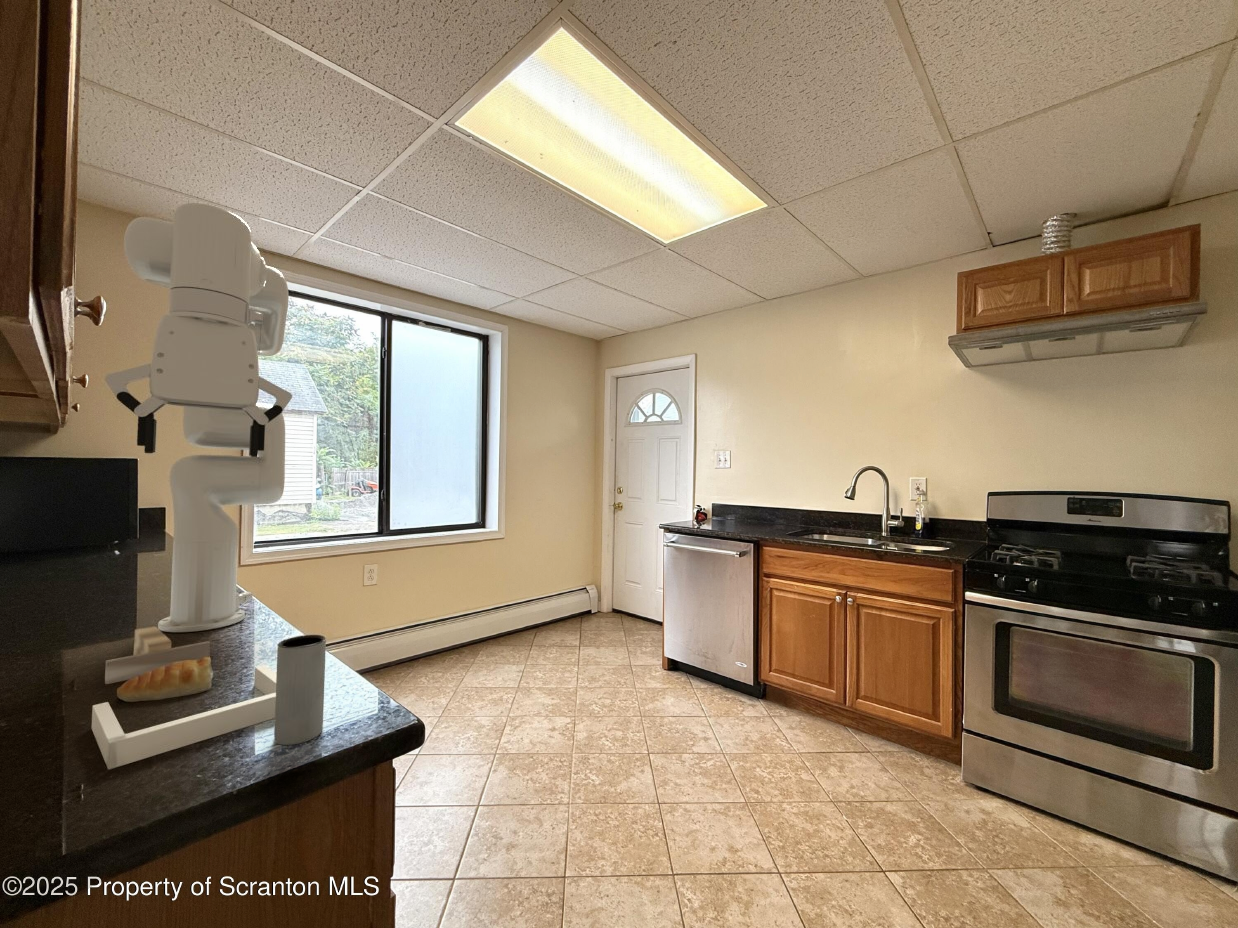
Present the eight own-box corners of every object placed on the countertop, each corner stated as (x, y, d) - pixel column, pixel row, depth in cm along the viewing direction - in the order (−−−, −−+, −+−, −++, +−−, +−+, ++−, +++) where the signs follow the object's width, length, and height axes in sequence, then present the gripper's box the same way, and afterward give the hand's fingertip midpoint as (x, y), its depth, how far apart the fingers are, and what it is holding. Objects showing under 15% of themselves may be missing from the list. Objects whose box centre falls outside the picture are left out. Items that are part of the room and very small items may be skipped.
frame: (91, 728, 56) (92, 705, 56) (264, 683, 69) (265, 664, 69) (108, 769, 49) (109, 743, 49) (299, 710, 61) (299, 689, 61)
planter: (266, 737, 55) (270, 641, 55) (310, 720, 59) (313, 631, 59) (285, 750, 53) (289, 650, 53) (330, 732, 56) (333, 639, 57)
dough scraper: (93, 662, 75) (95, 635, 75) (189, 644, 84) (190, 620, 84) (105, 684, 68) (107, 654, 68) (209, 662, 76) (210, 635, 76)
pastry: (113, 712, 60) (114, 680, 61) (120, 693, 66) (121, 663, 66) (213, 692, 66) (214, 662, 67) (212, 676, 72) (214, 649, 72)
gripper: (290, 334, 70) (286, 458, 69) (114, 305, 59) (107, 452, 58) (298, 322, 64) (293, 457, 63) (104, 287, 53) (96, 450, 52)
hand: (204, 454), depth 61 cm, fingers open, 9 cm apart
